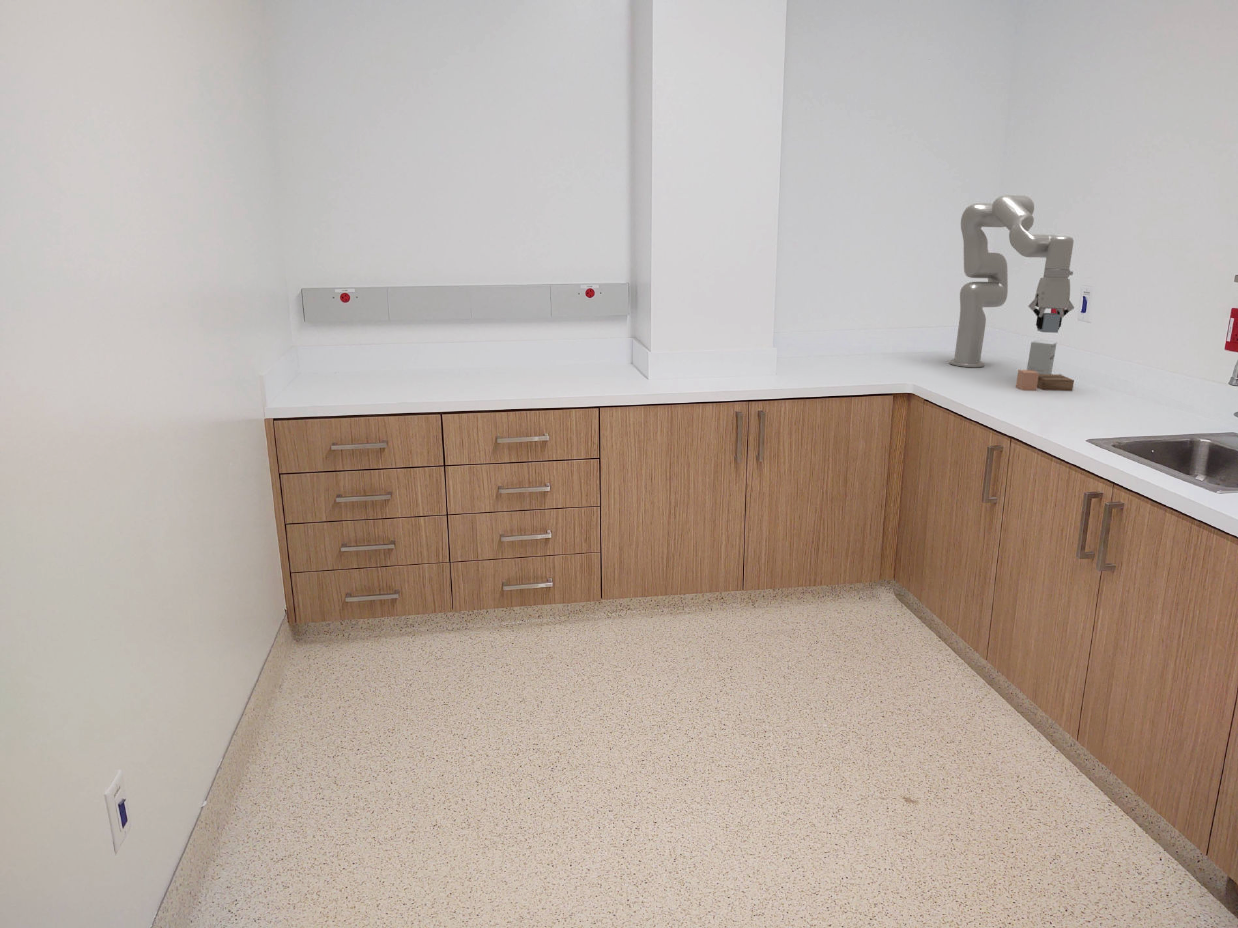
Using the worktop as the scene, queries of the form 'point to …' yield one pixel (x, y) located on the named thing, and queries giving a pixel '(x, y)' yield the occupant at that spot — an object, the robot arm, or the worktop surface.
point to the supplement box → (1041, 356)
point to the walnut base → (1054, 382)
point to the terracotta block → (1027, 380)
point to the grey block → (1050, 323)
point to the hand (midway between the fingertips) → (1047, 328)
